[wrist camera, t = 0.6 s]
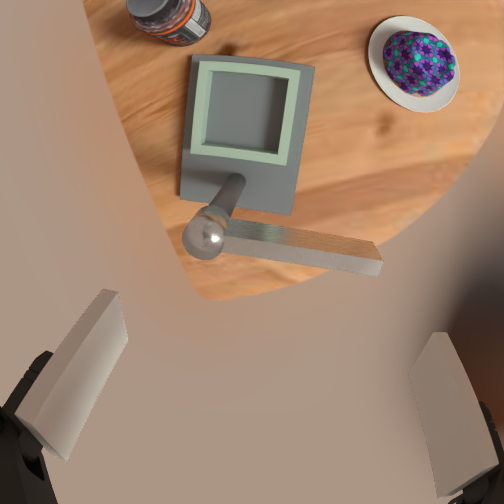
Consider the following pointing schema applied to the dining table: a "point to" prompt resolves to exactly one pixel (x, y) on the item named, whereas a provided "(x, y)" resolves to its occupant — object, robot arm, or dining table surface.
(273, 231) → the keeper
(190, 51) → the dining table surface
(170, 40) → the supplement bottle
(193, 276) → the dining table surface
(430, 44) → the pudding
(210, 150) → the socket base
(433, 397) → the robot arm
